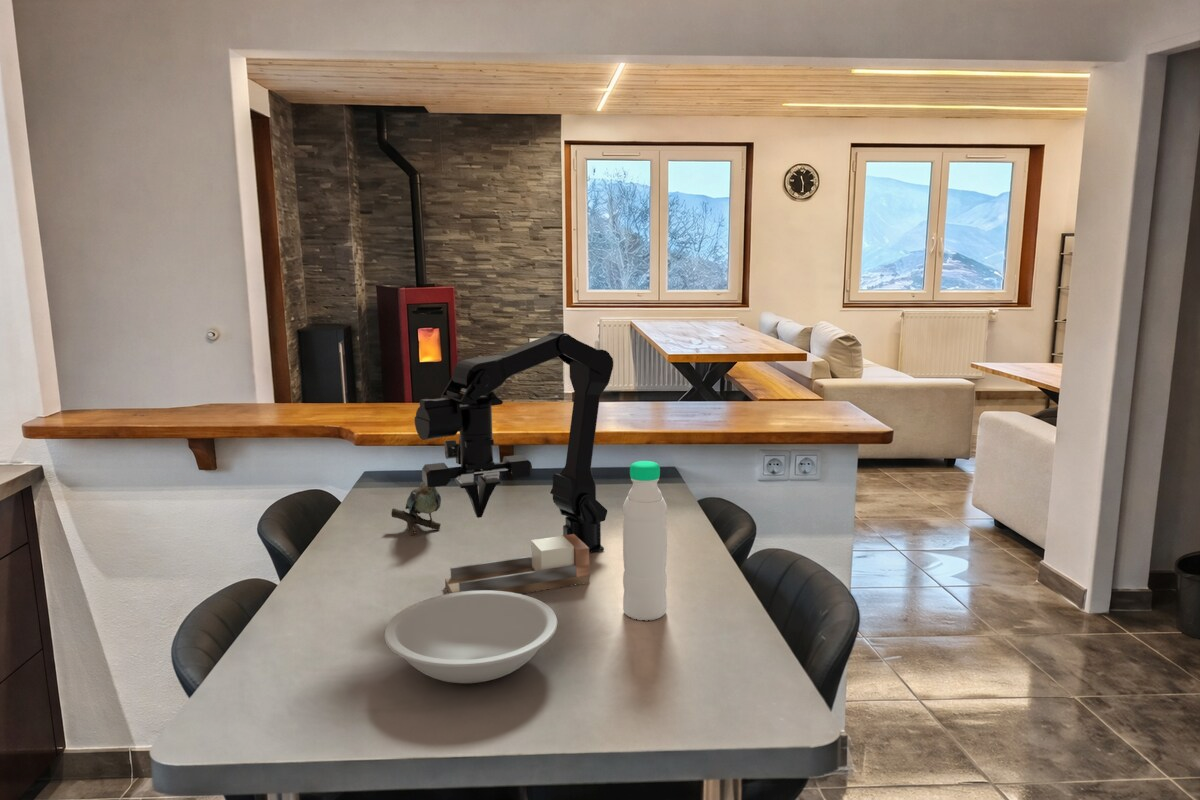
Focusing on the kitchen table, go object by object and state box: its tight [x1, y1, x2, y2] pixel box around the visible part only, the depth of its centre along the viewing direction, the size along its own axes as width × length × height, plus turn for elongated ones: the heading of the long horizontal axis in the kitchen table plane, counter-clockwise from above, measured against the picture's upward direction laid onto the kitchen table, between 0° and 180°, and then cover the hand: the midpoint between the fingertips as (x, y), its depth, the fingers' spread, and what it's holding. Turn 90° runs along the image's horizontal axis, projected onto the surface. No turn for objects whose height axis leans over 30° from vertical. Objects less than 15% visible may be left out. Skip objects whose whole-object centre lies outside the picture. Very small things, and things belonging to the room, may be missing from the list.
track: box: [444, 534, 591, 595], centre depth 150 cm, size 24×8×6 cm, turn 111°
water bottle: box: [622, 460, 668, 622], centre depth 136 cm, size 7×7×25 cm
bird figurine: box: [390, 480, 442, 536], centre depth 179 cm, size 13×10×20 cm
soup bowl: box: [384, 590, 558, 684], centre depth 121 cm, size 24×24×7 cm
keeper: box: [530, 535, 574, 571], centre depth 152 cm, size 6×6×5 cm
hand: (479, 517), depth 153 cm, fingers closed
